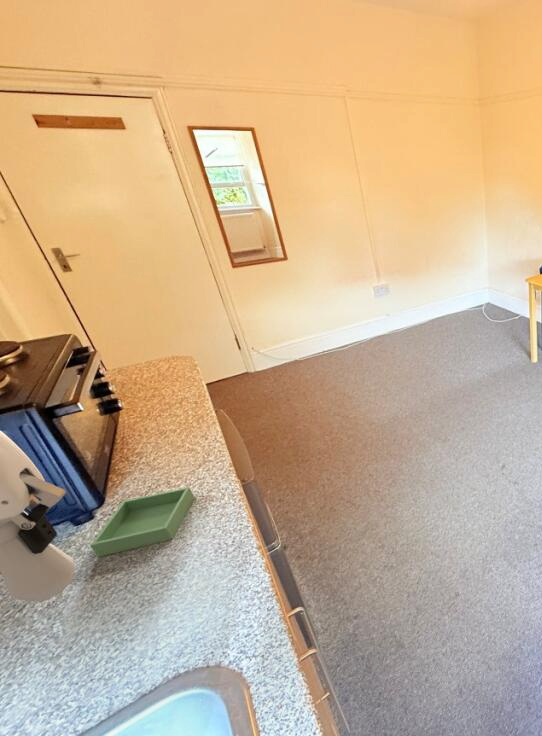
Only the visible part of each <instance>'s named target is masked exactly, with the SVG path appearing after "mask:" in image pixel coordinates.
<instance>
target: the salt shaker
mask: <svg viewBox="0 0 542 736" xmlns="http://www.w3.org/2000/svg"><path fill="white" fill-rule="evenodd" d="M23 512H24V513H26V514H27V515H28V514H29V513H28V512H26V511H25V510H24V511H23ZM20 530H21V528H20V527H19V526H17V525H16V524H15V523H13V522H12V521H11V520H10V519H8V518H6V519H2V520H0V574H1V576H2V579H3V582H4V584H5V587H6V589H7V591H8V594H9V595H10V596H11V597H13V598H14V599H16V600H19V601H28V602H35V603H43V602H45V601H47V600H50V599H51V598H54V597H56V596H57V595H59V594H61V593H63V592H64V591H65V590H66V589H67V587H68V586H69V585H70V584H71V583H72V582H73V581H74V577H75V561H74V558H73V557H71V556H70V555H69V554H67V553H65V552H64V551H62V550H61V549H60V548H58V547H56V546H55V545H53V544H52V542H51V543H50V544H49V545H48V546H47V547H46V549H45V550H44V551H43V552H42V553H38V554H34V553H32V552H31V550H30V549H29V548H28V547H27V545H26V544H25V543H24V542H23V540H22V539H21V538H20V537H19V535H18V532H19V531H20Z"/></svg>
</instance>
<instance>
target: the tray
mask: <svg viewBox="0 0 542 736" xmlns="http://www.w3.org/2000/svg"><path fill="white" fill-rule="evenodd" d="M195 498H196V497H195V495H194V493H193V491H192V489H191V488H190V486H187V487H183V488H178V489H173V490H168V491H163V492H159V493H154V494H150V495H149V494H148V495H144V496H139V497H134V498H130V499H125V500H123V501H122V502H121V503H120V505H119V506H118V507H117V509H116V510H115V511H114V512H113V514H112V515H111V516H110V518H109V519H108V520H107V522H106V523H105V524H104V526H103V527H102V529H101V530H100V532H98V534H97V535H96V537H95V538H94V539H93V541H92V542H91V543H90V546H89V547H90V548H91V549H92V551H93V552H94V553H95V554H96V556H97V557H98V558H100V557H103V556H104V557H105V556H108V555H112V554H116V553H120V552H125V551H129V550H134V549H137V548H142V547H145V546H149V545H154V544H159V543H162V542H165V541H170V540H174V537H175V536H176V533H177V532H178V529H179V528H180V526H181V524H182V522H183V521H184V519H185V517H186V515H187V513H188V511H189V510H190V508H191V505H192V503H193V502H194V500H195Z"/></svg>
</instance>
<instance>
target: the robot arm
mask: <svg viewBox="0 0 542 736" xmlns="http://www.w3.org/2000/svg"><path fill="white" fill-rule="evenodd" d="M66 494H67V490H66V489H64V488H61V487H60V486H56V485H54V484H53V483H50V482H47V481H46V480H45V478H44V476H43V475H42V473H41V471H40V470H39V469H38V468H37V466H36V465H35V464H34V462H33V461H32V460H31V459H30V457H28V455H27V454H26V453H25V452H24V451H23V450H22V448H20V447H19V446H18V444H16V443H15V442H14V441H13V440H12V439H11V438H10V437H9V436H8V435H7V434H6V433H4V432H3V431H2V430H0V520H2V519H6V518H8V519H10V520H11V521H12V522H13V523H15V524H16V525H17V526H19V527H20V528H21V530H20V531H19V532H18V535H19V537H20V538H21V539H22V540H23V542H24V543H25V544H26V545H27V547H28V548H29V549H30V550H31V552H32V553H34V554H38V553H42V552H43V551H44V550H45V549H46V547H47V546H48V545H49V544H50V543H51V544H52V542H53V540H54V539H55V538H56V537H57V535H58V531H57V530H56V529H55V527H54V526H53V525H52V523H51V522H50V521H49V520H48V518H47V516H46V514H47V513H49V510H51V508H52V507H53V506H55V505H56V504H57V503H58V502H60V500H62V498H64V496H65V495H66ZM38 498H39V499H40V500H39V499H38ZM25 509H27V510H28V511H29V513H27V512H26V513H27V514H28V515H27V514H26V513H24V512H23V511H25Z"/></svg>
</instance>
